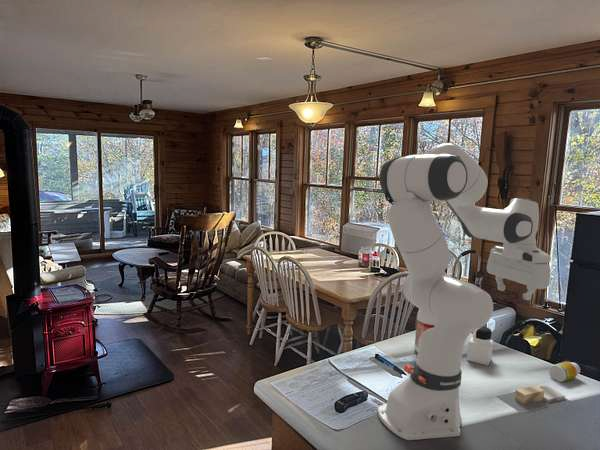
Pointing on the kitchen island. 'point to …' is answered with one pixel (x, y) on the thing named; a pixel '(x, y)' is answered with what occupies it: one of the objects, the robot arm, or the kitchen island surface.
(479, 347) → the medicine bottle
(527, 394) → the putty knife
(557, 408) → the kitchen island surface
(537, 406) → the mat
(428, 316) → the fruit juice
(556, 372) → the supplement bottle
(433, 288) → the robot arm
